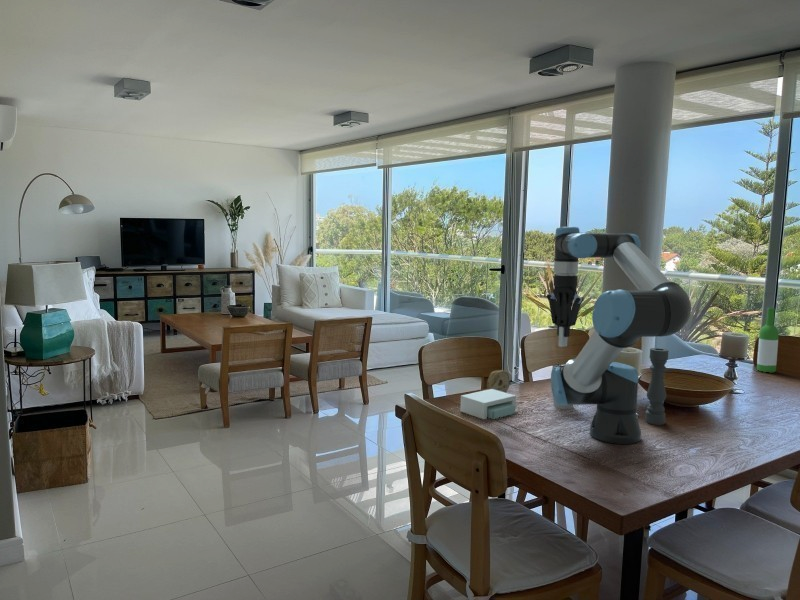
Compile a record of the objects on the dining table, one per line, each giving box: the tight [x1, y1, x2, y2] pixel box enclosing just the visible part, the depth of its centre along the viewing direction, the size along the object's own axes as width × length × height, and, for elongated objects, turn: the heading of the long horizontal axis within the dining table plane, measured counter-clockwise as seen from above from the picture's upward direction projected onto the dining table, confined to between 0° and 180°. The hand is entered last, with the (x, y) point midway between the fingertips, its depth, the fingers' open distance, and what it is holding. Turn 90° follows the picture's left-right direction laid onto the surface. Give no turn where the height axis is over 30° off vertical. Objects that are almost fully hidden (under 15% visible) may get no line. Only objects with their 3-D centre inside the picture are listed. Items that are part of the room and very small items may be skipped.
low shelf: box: [460, 389, 517, 420], centre depth 213 cm, size 12×16×6 cm
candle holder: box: [644, 347, 669, 426], centre depth 202 cm, size 6×6×25 cm
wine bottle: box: [756, 307, 780, 374], centre depth 280 cm, size 8×8×30 cm
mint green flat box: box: [487, 402, 516, 420], centre depth 211 cm, size 10×11×3 cm
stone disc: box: [486, 369, 511, 393], centre depth 234 cm, size 10×4×10 cm, turn 125°
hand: (562, 346), depth 197 cm, fingers closed
